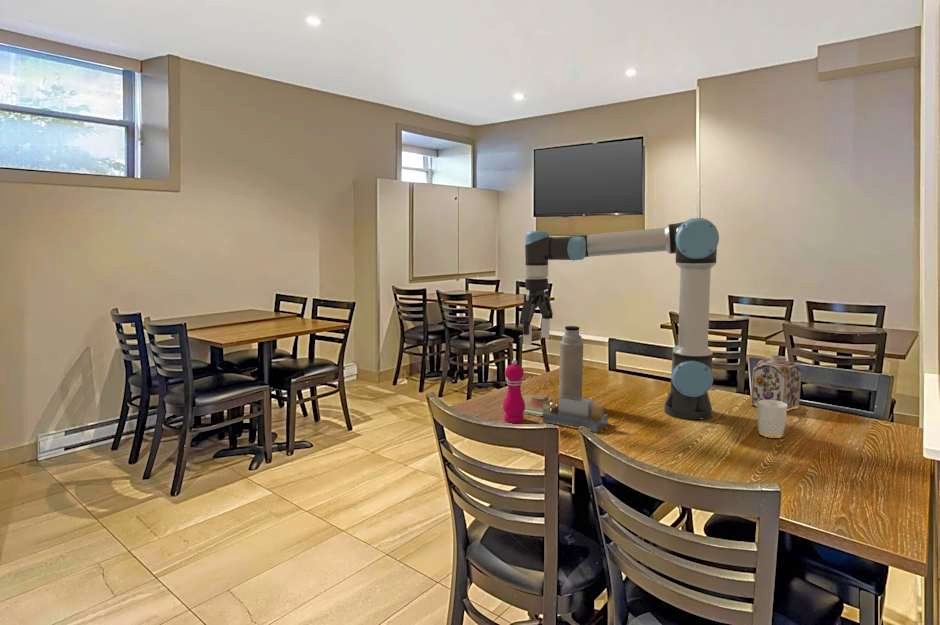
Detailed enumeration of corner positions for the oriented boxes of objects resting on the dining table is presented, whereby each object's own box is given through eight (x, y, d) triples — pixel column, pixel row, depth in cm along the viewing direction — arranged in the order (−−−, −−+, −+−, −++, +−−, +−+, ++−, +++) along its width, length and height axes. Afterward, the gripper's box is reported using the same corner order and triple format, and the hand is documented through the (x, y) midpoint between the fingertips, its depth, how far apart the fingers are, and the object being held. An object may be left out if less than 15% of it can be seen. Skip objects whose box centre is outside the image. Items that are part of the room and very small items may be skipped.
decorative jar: (782, 414, 198) (787, 362, 195) (749, 406, 207) (752, 355, 204) (799, 408, 205) (804, 357, 202) (766, 400, 214) (770, 351, 211)
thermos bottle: (558, 401, 213) (559, 324, 208) (580, 401, 212) (582, 324, 208) (559, 407, 205) (561, 328, 201) (582, 408, 204) (584, 328, 200)
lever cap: (552, 406, 203) (552, 395, 202) (543, 412, 197) (543, 400, 196) (526, 402, 208) (526, 391, 207) (516, 407, 202) (516, 396, 202)
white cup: (751, 435, 178) (754, 403, 177) (761, 429, 184) (763, 398, 182) (779, 442, 173) (782, 409, 171) (788, 435, 178) (791, 403, 177)
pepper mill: (499, 417, 194) (499, 358, 191) (519, 415, 197) (519, 356, 194) (508, 424, 188) (508, 363, 185) (528, 422, 190) (529, 361, 187)
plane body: (607, 423, 189) (608, 399, 188) (596, 432, 180) (597, 407, 179) (555, 413, 198) (556, 390, 197) (543, 422, 190) (543, 398, 189)
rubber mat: (555, 408, 204) (556, 405, 204) (542, 417, 195) (542, 414, 195) (527, 403, 210) (527, 400, 210) (512, 411, 201) (512, 408, 201)
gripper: (542, 274, 208) (542, 334, 211) (508, 280, 187) (508, 346, 190) (562, 275, 204) (562, 335, 207) (529, 281, 183) (529, 348, 186)
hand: (536, 340), depth 199 cm, fingers open, 13 cm apart
